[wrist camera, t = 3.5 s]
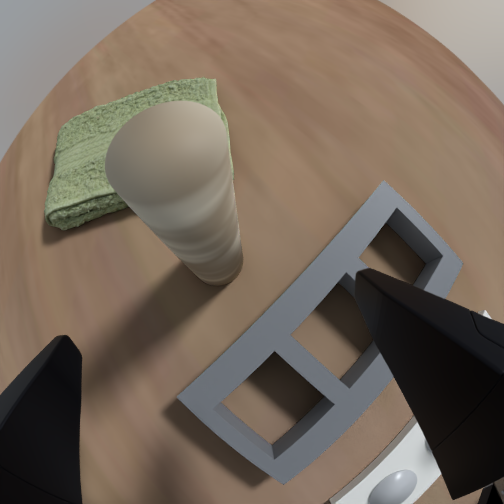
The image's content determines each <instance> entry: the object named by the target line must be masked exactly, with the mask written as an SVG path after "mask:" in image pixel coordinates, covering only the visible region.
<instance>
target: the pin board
mask: <svg viewBox="0 0 504 504" xmlns="http://www.w3.org/2000/svg"><path fill="white" fill-rule="evenodd" d="M385 223H387V224H388V225H389V226H390V227H391V228H392V229H393V230H394V231H395V232H396V233H397V234H398V235H399V236H400V237H401V238H402V239H403V240H404V241H405V242H406V243H407V244H408V245H409V246H410V247H411V248H412V249H413V250H414V251H415V252H416V254H417V255H418V256H419V257H420V258H421V259H422V260H423V261H424V262H425V263H426V265H425V267H424V268H423V270H422V271H421V273H420V275H419V276H418V278H417V280H416V281H415V283H414V284H413V286H416V287H418V288H420V289H423V290H425V291H428V292H430V293H432V294H435V295H437V296H439V297H442V298H444V299H445V298H446V296H447V295H448V293H449V291H450V289H451V287H452V285H453V283H454V281H455V279H456V277H457V275H458V273H459V271H460V269H461V267H462V265H463V262H462V261H461V260H460V259H459V258H458V256H457V255H456V254H455V253H454V252H453V250H452V249H451V248H450V247H449V246H448V245H447V243H446V242H445V241H444V240H443V239H442V238H441V237H440V236H439V235H438V233H437V232H436V231H435V230H434V229H433V228H432V227H431V226H430V225H429V224H428V223H427V222H426V221H425V220H424V219H423V218H422V216H421V215H420V214H419V213H418V212H417V211H416V210H415V209H414V208H413V207H412V206H411V205H410V204H409V203H407V202H406V201H405V200H404V199H403V198H402V197H401V196H400V195H399V194H398V193H397V192H396V191H395V190H394V189H393V188H392V187H390V186H389V185H388V184H387V183H386V182H385V181H384V180H383V182H382V183H381V184H380V185H379V186H378V188H377V189H376V190H375V191H374V192H373V194H372V195H371V196H370V197H369V198H368V200H367V201H366V202H365V203H364V204H363V206H362V207H361V208H360V209H359V210H358V211H357V213H356V214H355V215H354V216H353V217H352V218H351V220H350V221H349V222H348V223H347V224H346V225H345V226H344V228H343V229H342V230H341V231H340V232H339V233H338V234H337V236H336V237H335V238H334V239H333V240H332V241H331V242H330V243H329V245H328V246H327V247H326V248H325V249H324V250H323V251H322V252H321V253H320V255H319V256H318V257H317V258H316V259H315V260H314V261H313V262H312V263H311V264H310V265H309V267H308V268H307V269H306V270H305V271H304V272H303V273H302V274H301V275H300V276H299V277H298V278H297V279H296V280H295V282H294V283H293V284H292V285H291V286H290V287H289V288H288V289H287V290H286V291H285V292H284V293H283V294H282V295H281V296H280V297H279V298H278V299H277V300H276V301H275V303H274V304H273V305H272V306H271V307H270V308H269V309H268V310H267V311H266V312H265V313H264V314H263V315H262V316H261V317H260V318H259V319H258V320H257V321H256V322H255V323H254V324H253V325H252V326H251V327H250V328H249V329H248V330H247V331H246V332H245V333H244V334H243V335H242V336H241V337H240V338H239V339H238V340H237V341H236V342H235V343H234V344H233V345H232V346H231V347H230V348H228V349H227V350H226V351H225V352H224V353H223V354H222V355H221V356H220V357H219V358H218V359H217V360H216V361H215V362H214V363H213V364H212V365H211V366H210V367H209V368H207V369H206V370H205V371H204V372H203V373H202V374H201V375H200V376H199V377H198V378H197V379H196V380H195V381H193V382H192V383H191V384H190V385H189V386H188V387H187V388H186V389H185V390H184V391H183V392H181V393H180V394H179V395H178V396H177V398H178V399H179V400H180V401H181V402H182V403H183V404H184V405H185V406H186V407H187V408H188V409H189V410H190V411H191V412H192V413H193V414H194V415H195V416H197V417H198V418H199V419H200V420H201V421H202V422H203V423H204V424H205V425H206V426H208V427H209V428H210V429H211V430H212V431H213V432H214V433H216V434H217V435H218V436H219V437H220V438H221V439H223V440H224V441H225V442H226V443H227V444H229V445H230V446H231V447H232V448H234V449H235V450H236V451H237V452H239V453H240V454H241V455H242V456H244V457H245V458H246V459H248V460H249V461H250V462H252V463H253V464H254V465H256V466H257V467H259V468H260V469H261V470H263V471H264V472H266V473H267V474H268V475H270V476H271V477H273V478H274V479H276V480H277V481H279V482H280V483H282V484H283V485H284V484H285V483H287V482H288V481H289V480H291V479H292V478H293V477H295V476H296V475H297V474H298V473H300V472H301V471H302V470H303V469H304V468H306V467H307V466H308V465H309V464H311V463H312V462H313V461H314V460H315V459H316V458H317V457H319V456H320V455H321V454H322V453H323V452H324V451H325V450H326V449H328V448H329V447H330V446H331V445H332V444H333V443H334V442H335V441H336V440H337V439H338V438H339V437H340V436H341V435H342V434H343V433H344V432H345V431H346V430H347V429H348V428H349V427H350V426H351V425H352V424H353V423H354V422H355V421H356V420H357V419H358V418H359V417H360V416H361V415H362V414H363V412H364V411H365V410H366V409H367V408H368V407H369V406H370V405H371V404H372V402H373V401H374V400H375V399H376V398H377V397H378V395H379V394H380V393H381V392H382V391H383V389H384V388H385V387H386V386H387V385H388V383H389V382H390V381H391V380H392V378H393V377H394V376H393V375H392V373H391V371H390V369H389V367H388V366H387V364H386V362H385V360H384V358H383V357H382V355H381V353H380V351H379V350H378V348H377V346H376V344H375V342H374V340H373V342H372V343H371V344H370V345H369V347H368V348H367V349H366V350H365V351H364V353H363V354H362V355H361V356H360V357H359V359H358V360H357V361H356V362H355V363H354V365H353V366H352V367H351V368H350V369H349V370H348V371H347V373H346V374H345V375H344V376H343V377H342V378H341V379H340V380H339V379H338V378H337V377H336V376H334V375H333V374H332V373H331V372H330V371H329V370H328V369H327V368H326V367H324V366H323V365H322V364H321V363H320V362H319V361H318V360H317V359H316V358H315V357H313V356H312V355H311V354H310V353H309V352H308V351H307V350H306V349H305V348H304V347H303V346H302V345H300V344H299V343H298V342H297V341H296V340H295V339H294V338H293V337H292V336H291V333H292V332H293V331H294V330H295V329H296V328H297V327H298V326H299V325H300V324H301V323H302V322H303V321H304V320H305V319H306V317H307V316H308V315H309V314H310V313H311V312H312V311H313V310H314V309H315V308H316V306H317V305H318V304H319V303H320V302H321V301H322V300H323V299H324V297H325V296H326V295H327V294H328V293H329V292H330V291H331V289H332V288H333V287H334V286H335V285H336V284H337V282H339V283H340V284H341V285H342V286H343V287H344V288H345V289H346V290H347V291H348V292H349V293H350V294H351V295H352V296H353V297H354V298H355V296H354V290H355V275H356V272H357V271H359V270H362V269H366V268H369V267H367V266H366V265H365V264H364V263H363V262H362V261H361V260H360V259H359V258H358V257H359V256H360V255H361V253H362V252H363V251H364V250H365V248H366V247H367V246H368V245H369V243H370V242H371V241H372V240H373V238H374V237H375V236H376V234H377V233H378V232H379V230H380V229H381V228H382V227H383V225H384V224H385ZM274 351H275V352H276V353H278V354H279V355H280V356H281V357H282V358H283V359H284V360H285V361H286V362H287V363H288V364H289V365H291V366H292V367H293V368H294V369H295V370H296V371H297V372H298V373H299V374H301V375H302V376H303V377H304V378H305V379H306V380H307V381H308V382H310V383H311V384H312V385H313V386H314V387H315V388H316V389H318V390H319V391H320V392H321V393H322V394H323V395H324V397H323V398H322V399H321V400H320V401H319V402H318V403H317V404H316V405H315V406H314V407H313V408H312V409H311V410H310V411H309V412H308V413H307V414H306V415H305V416H304V417H303V418H302V419H301V420H300V421H299V422H298V423H297V424H296V425H294V426H293V427H292V428H291V429H290V430H289V431H288V432H287V433H286V434H284V435H283V436H282V437H281V438H280V439H279V440H278V441H276V442H275V443H274V444H273V445H271V444H270V443H268V442H267V441H266V440H264V439H263V438H262V437H261V436H259V435H258V434H257V433H256V432H254V431H253V430H252V429H251V428H250V427H248V426H247V425H246V424H245V423H244V422H242V421H241V420H240V419H239V418H238V417H237V416H236V415H234V414H233V413H232V412H231V411H230V410H229V409H228V408H227V407H225V406H224V405H223V404H222V403H221V401H222V400H223V399H225V398H226V397H227V396H228V395H229V394H230V393H231V392H232V391H233V390H234V389H236V388H237V387H238V386H239V385H240V384H241V383H242V382H243V381H244V380H245V379H246V378H247V377H248V376H249V375H250V374H252V373H253V372H254V371H255V370H256V369H257V368H258V367H259V366H260V365H261V364H262V363H263V362H264V361H265V360H266V359H267V358H268V357H269V356H270V355H271V354H272V353H273V352H274Z"/></svg>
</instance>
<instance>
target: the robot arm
mask: <svg viewBox="0 0 504 504" xmlns="http://www.w3.org/2000/svg"><path fill="white" fill-rule="evenodd" d="M354 296H355V300H356V303H357V305H358V307H359V309H360V311H361V314H362V316H363V318H364V320H365V322H366V325H367V327H368V329H369V332H370V334H371V336H372V338H373V340H374V342H375V344H376V346H377V348H378V350H379V351H380V353H381V355H382V357H383V358H384V360H385V362H386V364H387V366H388V367H389V369H390V371H391V373H392V375H393V376H394V378H395V380H396V382H397V384H398V386H399V388H400V389H401V391H402V393H403V395H404V397H405V399H406V401H407V403H408V405H409V406H410V408H411V410H412V412H413V414H414V416H415V418H416V420H417V422H418V424H419V426H420V428H421V430H422V432H423V434H424V437H425V439H426V441H427V443H428V445H429V447H430V449H431V451H432V454H433V456H434V458H435V460H436V463H437V465H438V467H439V469H440V472H441V474H442V476H443V479H444V481H445V483H446V486H447V488H448V491H449V493H450V496H451V498H452V499H453V500H455V499H457V498H460V497H462V496H465V495H467V494H470V493H472V492H474V491H477V490H479V489H481V488H483V487H485V486H486V487H485V488H483V490H482V493H481V496H480V499H479V501H478V504H504V324H503V323H500V322H497V321H495V320H492V319H490V318H488V317H485V316H483V315H481V314H478V313H476V312H474V311H470V310H469V309H467V308H465V307H462V306H460V305H458V304H456V303H453V302H451V301H449V300H446V299H444V298H442V297H439V296H437V295H435V294H432V293H430V292H428V291H425V290H423V289H420V288H418V287H416V286H413V285H411V284H408V283H406V282H403V281H401V280H399V279H396V278H394V277H391V276H389V275H386V274H384V273H381V272H379V271H376V270H374V269H371V268H366V269H362V270H359V271H357V272H356V275H355V290H354ZM81 382H82V355H81V352H80V351H79V349H78V348H77V347H76V345H75V344H74V343H73V341H72V340H71V339H70V337H69V336H67V335H60V336H56V337H55V338H54V339H53V340H52V341H51V342H50V343H49V344H48V345H47V346H46V347H45V348H44V349H43V350H42V351H41V352H40V353H39V354H38V355H37V356H36V357H35V358H34V359H33V360H32V361H31V362H30V363H29V364H28V365H27V366H26V367H25V368H24V369H23V371H22V372H21V373H20V374H19V375H18V376H17V377H16V378H15V379H14V380H13V381H12V382H11V384H10V385H9V386H8V387H7V388H6V389H5V390H4V391H3V392H2V394H1V395H0V504H82V494H81V482H80V455H79V441H80V414H81Z"/></svg>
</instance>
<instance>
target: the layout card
mask: <svg viewBox="0 0 504 504" xmlns="http://www.w3.org/2000/svg"><path fill="white" fill-rule="evenodd" d="M478 314H481V315H483V316H485V317H488V318H490V316H489V315H488V313H487V312H486V310H483V311H478ZM490 319H491V318H490ZM440 475H441V472H440V469H439V467H438V465H437V463H436V460H435V458H434V456H433V454H432V451H431V449H430V447H429V445H428V443H427V441H426V439H425V437H424V434H423V432H422V430H421V428H420V426H419V424H418V422H417V420H416V418H415V416H413V417H412V419H411V420H410V421H409V422H408V423H407V425H406V426H405V427H404V428H403V429H402V431H401V432H400V433H399V434H398V435H397V436H396V437H395V439H394V440H393V441H392V442H391V443H390V444H389V445H388V446H387V447H386V448H385V449H384V450H383V451H382V452H381V454H380V455H379V456H378V457H377V458H376V459H375V460H374V461H373V462H372V463H370V464H369V465H368V466H367V467H366V468H365V469H364V470H363V471H362V472H361V473H360V474H359V475H358V476H357V477H355V478H354V479H353V480H352V481H351V482H350V483H349V484H347V485H346V486H345V487H344V488H343V489H341V490H340V491H339V492H338V493H337V494H335V495H334V496H333V497H332V498H330V499H329V500H330V502H331V504H413V503H414V502H415V501H416V500H417V499H418V498H419V497H420V496H421V495H422V494H423V493H424V492H425V491H426V490H427V489H428V488H429V487H430V486H431V484H432V483H433V482H434V481H435V480H436V479H437V478H438V477H439V476H440Z"/></svg>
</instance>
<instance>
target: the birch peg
mask: <svg viewBox="0 0 504 504" xmlns="http://www.w3.org/2000/svg"><path fill="white" fill-rule="evenodd" d="M105 172H106V177H107V179H108V182H109V184H110V185H111V187H112V188H113V189H114V190H115V191H116V192H117V194H118V195H119V196H120V197H121V198H122V199H123V200H124V201H125V202H126V203H127V205H128V206H129V207H130V208H131V209H132V210H133V211H134V212H135V213H136V214H137V215H138V216H139V217H140V219H141V220H142V221H143V222H144V223H145V224H146V225H147V226H148V227H149V228H150V229H151V230H152V231H153V232H154V233H155V234H156V235H157V236H158V237H159V238H160V240H161V241H162V242H163V243H164V244H165V245H166V246H167V247H168V248H169V249H170V250H171V251H172V252H173V253H174V254H175V255H176V256H177V257H178V258H179V259H180V260H181V261H182V262H183V263H184V264H185V265H186V266H187V267H188V268H189V269H190V270H191V271H192V272H193V273H194V274H195V275H196V276H197V277H198V278H199V279H201V280H202V281H203V282H205V283H207V284H209V285H214V286H221V285H225V284H228V283H230V282H231V281H233V280H234V279H235V278H236V277H237V276H238V275H239V273H240V271H241V269H242V266H243V253H242V246H241V239H240V231H239V224H238V216H237V209H236V201H235V194H234V186H233V178H232V171H231V163H230V155H229V147H228V139H227V132H226V128H225V125H224V123H223V121H222V119H221V118H220V117H219V115H218V114H217V113H216V112H214V111H213V110H212V109H210V108H209V107H207V106H205V105H202V104H200V103H196V102H191V101H171V102H165V103H161V104H158V105H155V106H152V107H150V108H147V109H145V110H143V111H142V112H140V113H138V114H137V115H135V116H134V117H132V118H131V119H130V120H129V121H128V122H126V123H125V124H124V125H123V126H122V127H121V128H120V130H119V131H118V132H117V133H116V135H115V136H114V138H113V139H112V141H111V143H110V145H109V148H108V150H107V154H106V158H105Z"/></svg>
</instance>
